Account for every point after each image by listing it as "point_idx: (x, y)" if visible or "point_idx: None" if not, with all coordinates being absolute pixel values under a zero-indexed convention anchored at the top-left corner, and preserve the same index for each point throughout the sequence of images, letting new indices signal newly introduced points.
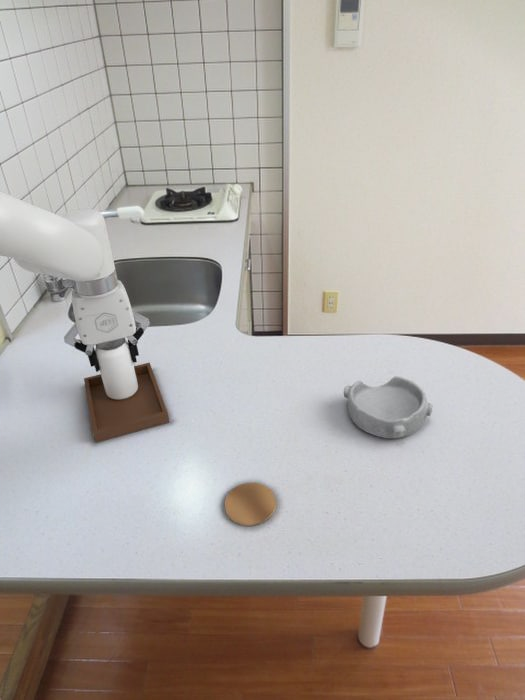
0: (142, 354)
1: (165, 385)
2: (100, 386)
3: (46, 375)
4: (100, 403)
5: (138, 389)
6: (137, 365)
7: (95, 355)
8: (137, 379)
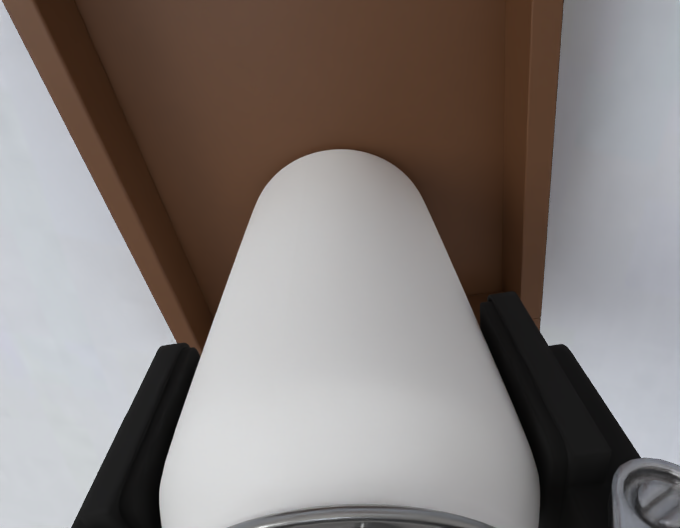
0: None
1: (114, 233)
2: None
3: (666, 396)
4: (463, 148)
5: None
6: None
7: (553, 447)
8: None
